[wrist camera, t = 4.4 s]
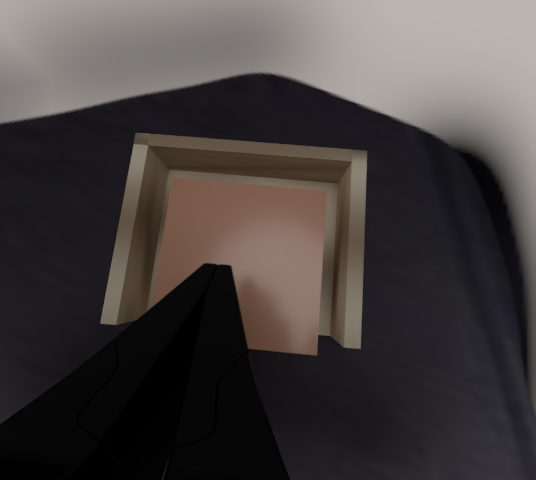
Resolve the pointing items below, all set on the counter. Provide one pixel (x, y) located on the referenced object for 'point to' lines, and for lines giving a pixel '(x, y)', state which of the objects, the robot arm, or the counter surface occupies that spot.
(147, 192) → the tray
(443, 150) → the counter surface
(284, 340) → the drawer panel
